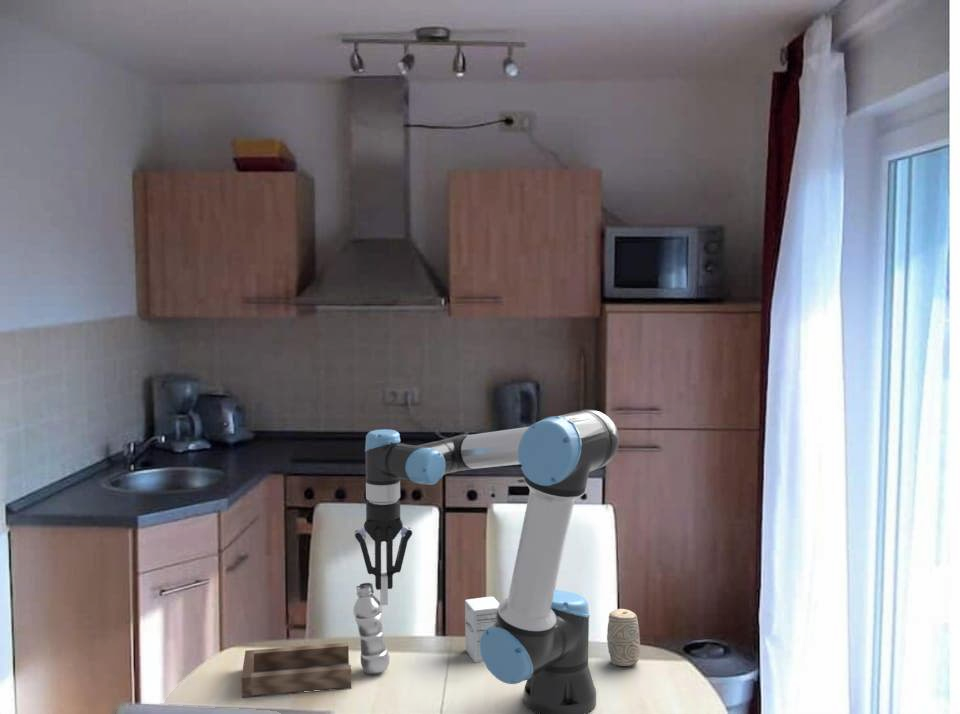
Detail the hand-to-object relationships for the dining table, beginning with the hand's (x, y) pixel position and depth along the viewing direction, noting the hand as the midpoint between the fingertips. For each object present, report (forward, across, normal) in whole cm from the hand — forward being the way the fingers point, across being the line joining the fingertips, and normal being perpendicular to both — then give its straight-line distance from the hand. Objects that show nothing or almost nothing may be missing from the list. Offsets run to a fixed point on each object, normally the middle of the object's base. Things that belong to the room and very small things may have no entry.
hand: (384, 602), depth 210 cm
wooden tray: (+16, +19, +1) cm, 25 cm away
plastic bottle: (+16, +2, 0) cm, 16 cm away
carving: (+16, -54, +7) cm, 57 cm away
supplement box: (+16, -24, -4) cm, 29 cm away
